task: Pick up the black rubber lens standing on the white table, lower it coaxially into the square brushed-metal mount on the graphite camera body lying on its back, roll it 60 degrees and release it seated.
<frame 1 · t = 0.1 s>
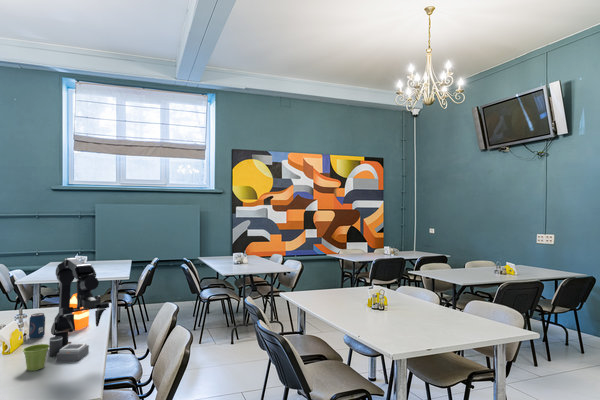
hand: (85, 328, 169), 15 cm above the table, tool pointing down, fingers open, 9 cm apart
camera body: (72, 357, 177), on the table
soda can: (36, 337, 204), on the table
plant pot: (35, 368, 164), on the table
orange juice: (77, 327, 223), on the table
lens: (55, 355, 179), on the table
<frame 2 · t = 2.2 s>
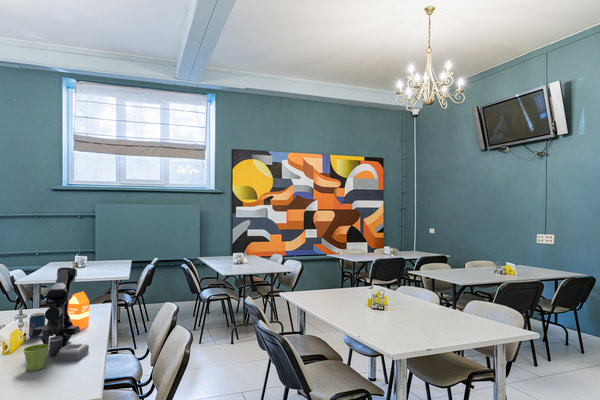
hand: (55, 349, 179), 3 cm above the table, tool pointing down, fingers open, 7 cm apart
nothing on the table moved.
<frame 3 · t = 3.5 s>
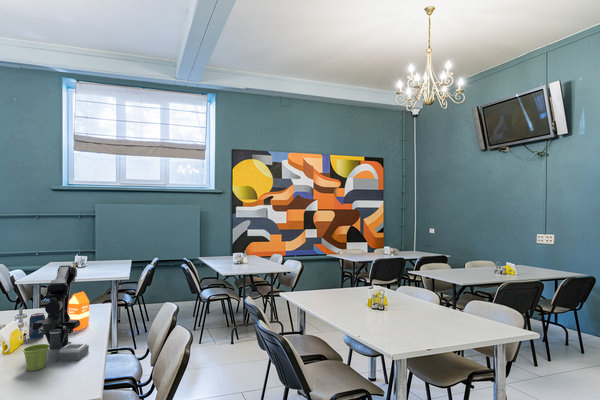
hand: (55, 343, 179), 5 cm above the table, tool pointing down, fingers closed on lens, 5 cm apart
lens: (55, 347, 179), point 3 cm above the table, touching gripper
everything else where it was.
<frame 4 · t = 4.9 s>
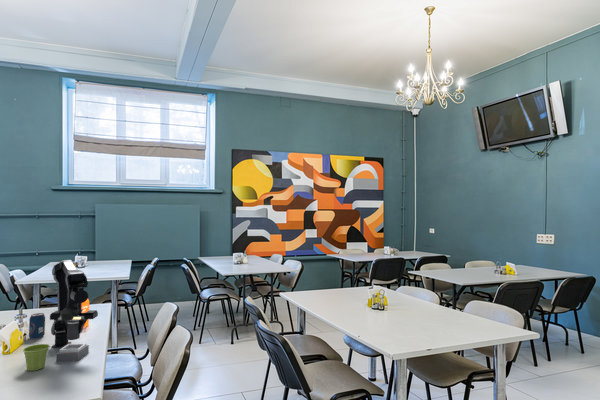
hand: (73, 333, 177), 10 cm above the table, tool pointing down, fingers closed on lens, 5 cm apart
lens: (73, 338, 177), point 8 cm above the table, touching gripper
everything else where it was.
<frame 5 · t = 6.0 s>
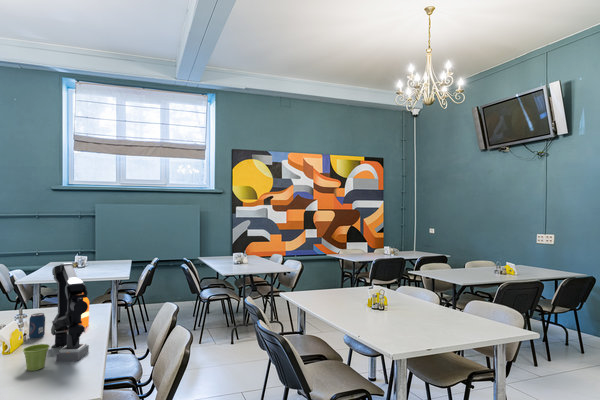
hand: (73, 344, 177), 6 cm above the table, tool pointing down, fingers closed on lens, 5 cm apart
lens: (72, 348, 177), point 4 cm above the table, touching gripper
everything else where it was.
when the fingers open (6 cm above the table, at t = 6.9 s): lens stays where it is, resting on camera body.
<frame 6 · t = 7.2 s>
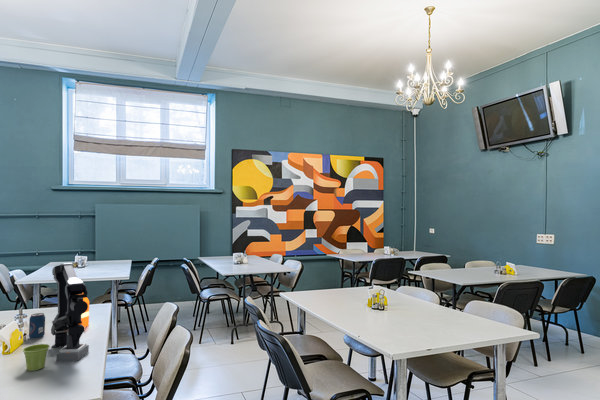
hand: (73, 344, 177), 6 cm above the table, tool pointing down, fingers open, 7 cm apart
lens: (72, 349, 177), point 4 cm above the table, touching camera body
everything else where it was.
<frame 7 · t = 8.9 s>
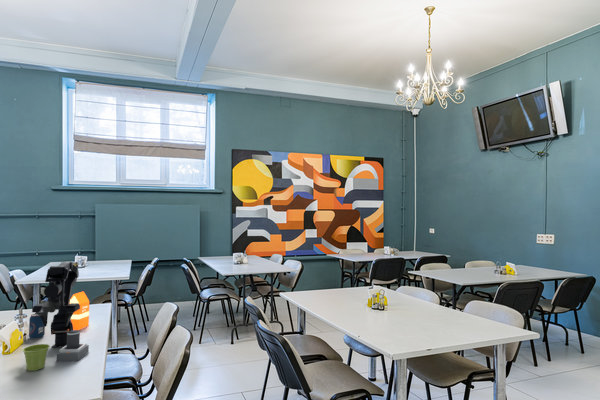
hand: (55, 326, 181), 13 cm above the table, tool pointing down, fingers open, 9 cm apart
nothing on the table moved.
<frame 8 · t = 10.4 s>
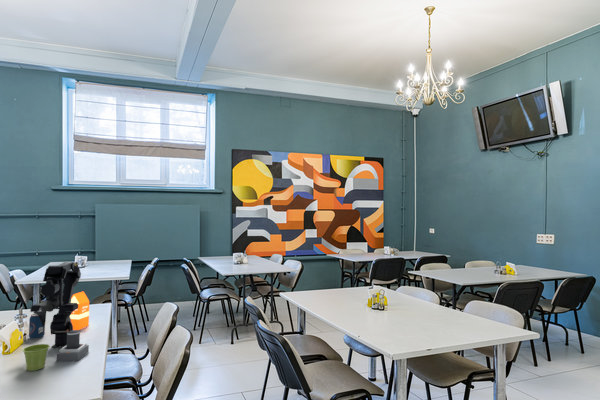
hand: (54, 325, 181), 13 cm above the table, tool pointing down, fingers open, 9 cm apart
nothing on the table moved.
at the end: lens 0.1 cm off-centre on the camera body, point 3.5 cm above the camera body's base; lens tilted 0°; the gripper is holding nothing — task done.
